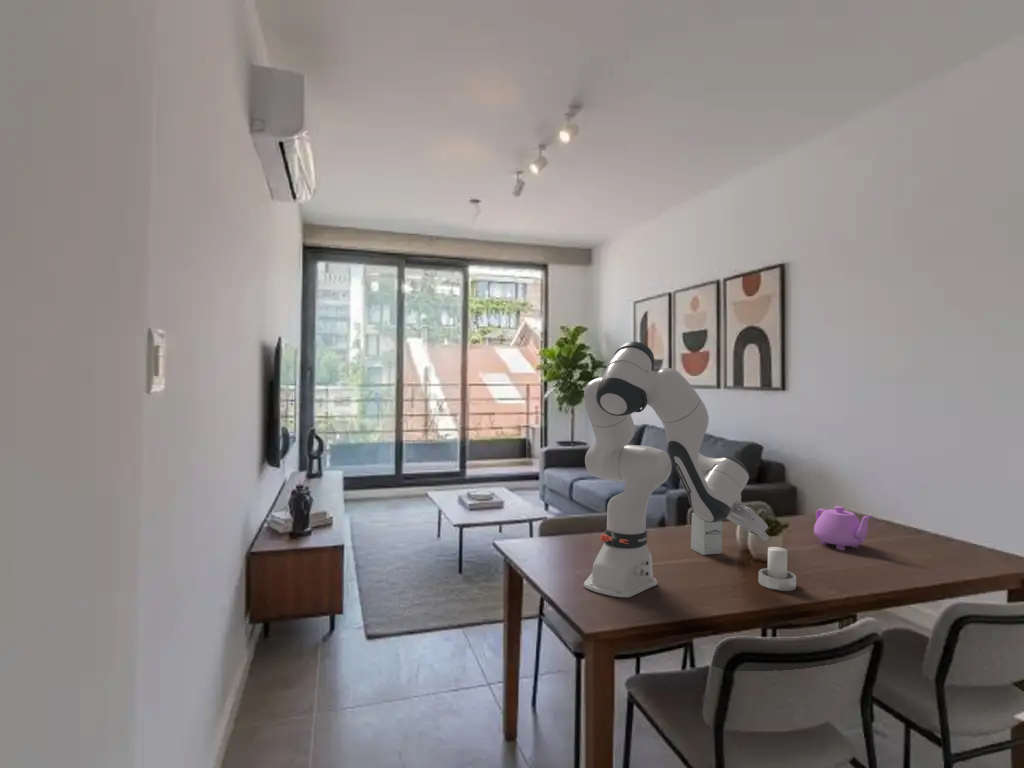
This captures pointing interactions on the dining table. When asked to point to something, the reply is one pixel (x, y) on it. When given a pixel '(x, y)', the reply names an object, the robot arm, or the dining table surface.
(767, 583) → the collar
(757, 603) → the dining table surface
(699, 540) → the supplement box
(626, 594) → the robot arm
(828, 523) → the teapot
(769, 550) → the white cylinder
